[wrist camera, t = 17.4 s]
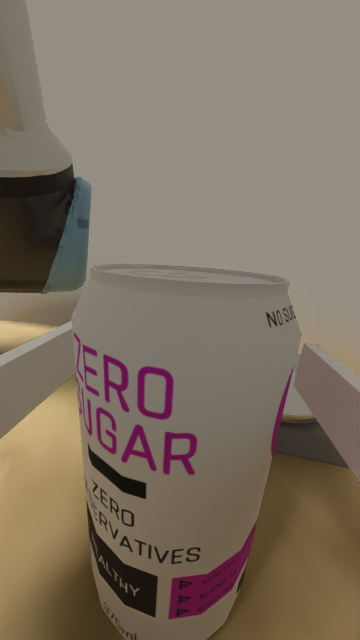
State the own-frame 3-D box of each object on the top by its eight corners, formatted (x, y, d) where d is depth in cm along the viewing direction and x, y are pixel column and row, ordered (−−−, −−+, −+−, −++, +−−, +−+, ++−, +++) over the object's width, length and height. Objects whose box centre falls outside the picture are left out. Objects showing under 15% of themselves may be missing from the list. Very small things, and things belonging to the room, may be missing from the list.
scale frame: (191, 433, 20) (193, 409, 19) (204, 366, 32) (206, 350, 31) (349, 467, 18) (359, 442, 17) (298, 381, 30) (303, 364, 29)
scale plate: (185, 430, 19) (188, 392, 18) (202, 360, 32) (204, 335, 31) (363, 468, 17) (379, 426, 16) (302, 375, 30) (309, 349, 29)
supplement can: (228, 474, 16) (263, 271, 12) (262, 678, 8) (397, 300, 4) (122, 463, 17) (119, 261, 12) (58, 651, 9) (-13, 270, 4)
